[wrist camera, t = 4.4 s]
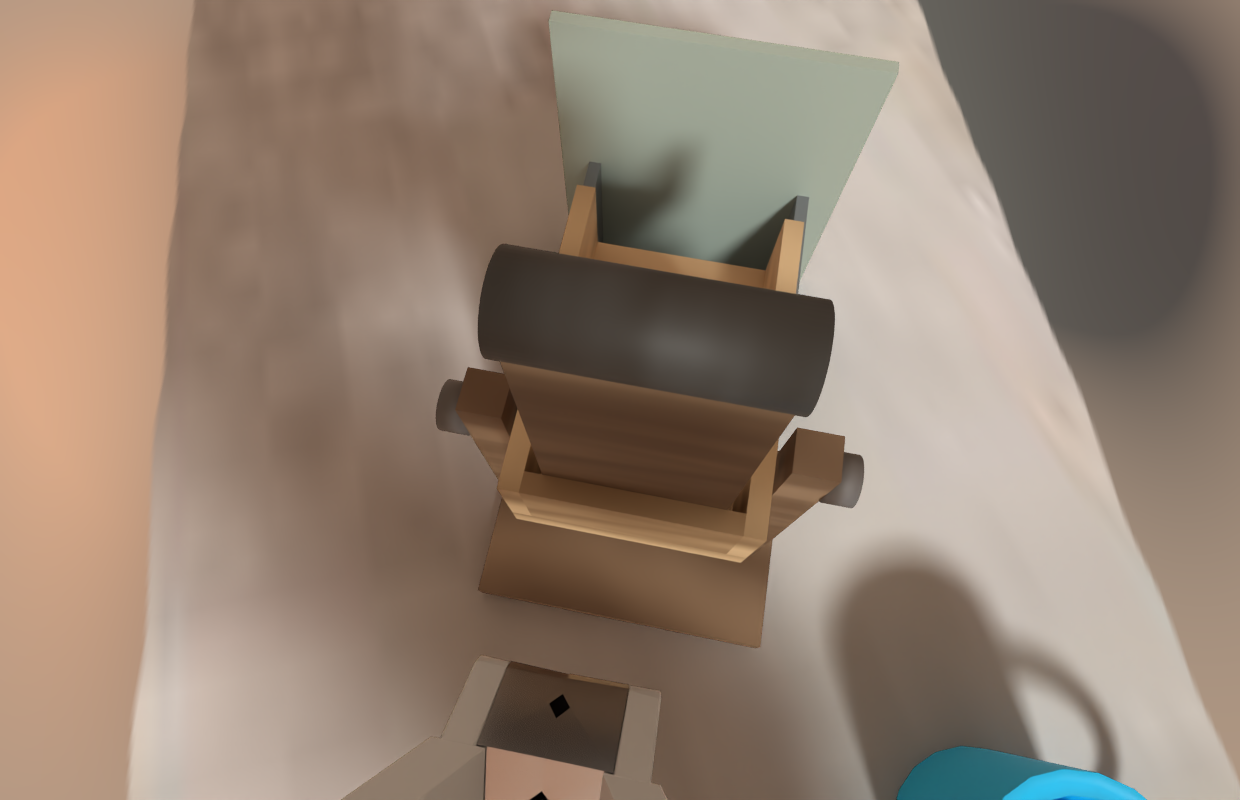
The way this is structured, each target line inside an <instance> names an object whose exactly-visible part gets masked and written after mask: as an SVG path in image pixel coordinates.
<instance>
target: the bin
mask: <svg viewBox="0 0 1240 800" xmlns="http://www.w3.org/2000/svg"><path fill="white" fill-rule="evenodd" d="M549 31H550V40H551V50H552V60H553V69H554V79H555V89H556V99H557V108H558V118H559V128H560V137H561V147H562V157H563V167H564V176H565V186H566V196H567V205H568V215H569V213H570V209H571V205H572V201H573V198H574V194H575V190H576V186H577V185H582V186H588V187H594V188H596V211H597V236H598V242H601V243H606V244H612V245H618V246H624V247H630V248H636V249H642V250H648V251H654V252H659V253H665V254H671V255H677V256H683V257H689V258H695V259H701V260H707V261H712V262H718V263H724V264H730V265H736V266H742V267H748V268H754V269H760V270H766V268H767V265H768V263H769V260H770V257H771V255H772V252H773V249H774V247H775V244H776V241H777V239H778V236H779V233H780V231H781V228H782V225H783V223H784V220H785V219H789V220H795V221H801V222H804V229H803V237H802V245H801V254H800V262H799V271H798V279H797V288H796V294H798V289H799V281H800V279H801V277H802V275H803V273H804V271H805V269H806V267H807V264H808V262H809V260H810V258H811V256H812V254H813V252H814V250H815V248H816V246H817V243H818V241H819V239H820V237H821V235H822V233H823V231H824V229H825V227H826V225H827V222H828V220H829V218H830V216H831V214H832V212H833V210H834V208H835V206H836V203H837V201H838V199H839V197H840V195H841V193H842V191H843V189H844V187H845V185H846V182H847V180H848V178H849V176H850V174H851V172H852V170H853V168H854V166H855V163H856V161H857V159H858V157H859V155H860V153H861V151H862V149H863V147H864V145H865V142H866V140H867V138H868V136H869V134H870V132H871V130H872V128H873V126H874V124H875V121H876V119H877V117H878V115H879V113H880V111H881V109H882V107H883V105H884V102H885V100H886V98H887V96H888V94H889V92H890V90H891V88H892V86H893V84H894V81H895V79H896V77H897V75H898V70H899V62H896V61H889V60H882V59H876V58H869V57H862V56H855V55H849V54H842V53H835V52H829V51H822V50H815V49H808V48H802V47H795V46H788V45H782V44H775V43H768V42H762V41H755V40H748V39H741V38H735V37H728V36H721V35H715V34H708V33H701V32H694V31H688V30H681V29H674V28H668V27H661V26H654V25H647V24H641V23H634V22H627V21H621V20H614V19H607V18H600V17H594V16H587V15H580V14H574V13H567V12H560V11H553V10H552V11H551V15H550V18H549Z"/></svg>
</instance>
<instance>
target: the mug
mask: <svg viewBox="0 0 1240 800" xmlns="http://www.w3.org/2000/svg"><path fill="white" fill-rule="evenodd" d="M897 800H1147V799H1145V798H1144V797H1143V796H1142V795H1141V794H1139V793H1138V792H1137V791H1136V790H1135V789H1133V788H1130V787H1128V786H1126V785H1124V784H1122V783H1120V782H1117V781H1115V780H1113V779H1111V778H1109V777H1106V776H1104V775H1102V774H1100V773H1096V772H1092V771H1087V770H1082V769H1078V768H1073V767H1068V766H1064V765H1059V764H1055V763H1050V762H1045V761H1041V760H1036V759H1031V758H1027V757H1022V756H1017V755H1013V754H1008V753H1004V752H999V751H994V750H990V749H982V748H974V747H966V746H959V747H955V748H950V749H946V750H942V751H938V752H935V753H934V754H932V755H931V756H929V757H928V758H927V759H925V760H924V761H922V762H921V763H919V764H918V765H917V766H915V767H914V768H913V770H912V771H911V773H910V774H909V776H908V777H907V779H906V780H905V782H904V783H903V785H902V786H901V788H900V789H899V792H898V796H897Z"/></svg>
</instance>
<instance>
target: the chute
mask: <svg viewBox="0 0 1240 800" xmlns="http://www.w3.org/2000/svg"><path fill="white" fill-rule="evenodd" d="M803 229H804V222H801V221H795V220H789V219H785V220H784V223H783V225H782V228H781V231H780V233H779V236H778V239H777V241H776V244H775V247H774V249H773V252H772V255H771V257H770V260H769V263H768V265H767V268H766V270H760V269H754V268H748V267H742V266H736V265H730V264H724V263H718V262H712V261H707V260H701V259H695V258H689V257H683V256H677V255H671V254H665V253H659V252H654V251H648V250H642V249H636V248H630V247H624V246H618V245H612V244H606V243H601V242H598V236H597V211H596V188H594V187H588V186H582V185H577V186H576V190H575V194H574V198H573V201H572V205H571V209H570V213H569V217H568V220H567V224H566V228H565V232H564V235H563V239H562V243H561V247H560V251H559V253H554V252H549V251H543V250H537V249H531V248H525V247H519V246H514V245H508V244H501V245H500V246H499V247H498V248H497V249H496V250H495V252H494V254H493V256H492V258H491V260H490V263H489V265H488V268H487V271H486V275H485V278H484V283H483V287H482V292H481V298H480V305H479V315H478V341H479V347H480V351H481V354H482V356H483V357H484V358H485V359H490V360H495V361H500V363H501V366H502V369H503V371H504V374H505V377H506V379H507V382H508V385H509V387H510V390H511V393H512V395H513V398H514V401H515V403H516V406H517V413H516V417H515V421H514V424H513V428H512V432H511V436H510V440H509V443H508V447H507V451H506V455H505V459H504V462H503V466H502V470H501V474H500V477H499V481H498V485H497V490H498V491H499V493H500V494H501V496H502V497H503V499H504V500H505V502H506V503H507V505H508V506H509V508H510V509H511V511H512V513H513V514H514V516H515V517H516V519H521V520H526V521H531V522H536V523H541V524H546V525H551V526H556V527H561V528H566V529H572V530H577V531H582V532H587V533H592V534H597V535H602V536H607V537H612V538H617V539H622V540H627V541H633V542H638V543H643V544H648V545H653V546H658V547H663V548H668V549H673V550H678V551H683V552H688V553H694V554H699V555H704V556H709V557H714V558H719V559H724V560H729V561H734V562H739V563H741V562H742V561H743V560H745V559H746V558H747V557H748V556H749V555H750V554H752V553H753V552H754V551H755V550H756V549H758V548H759V547H760V546H761V545H762V544H763V543H765V542H766V541H767V534H768V525H769V517H770V508H771V500H772V491H773V483H774V474H775V466H776V457H777V449H778V440H779V437H780V435H781V434H782V433H783V431H784V430H785V428H786V427H787V426H788V424H789V423H790V421H791V420H792V419H793V417H794V416H795V415H797V416H802V417H808V416H809V415H810V414H811V413H812V411H813V410H814V408H815V406H816V404H817V402H818V399H819V397H820V394H821V391H822V388H823V385H824V381H825V378H826V374H827V370H828V366H829V361H830V356H831V351H832V344H833V337H834V325H835V312H834V305H833V302H832V301H831V300H829V299H823V298H817V297H811V296H805V295H800V294H796V288H797V279H798V271H799V262H800V254H801V245H802V237H803Z"/></svg>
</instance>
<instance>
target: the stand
mask: <svg viewBox="0 0 1240 800" xmlns="http://www.w3.org/2000/svg"><path fill="white" fill-rule="evenodd" d="M516 413H517V406H516V403H515V401H514V398H513V395H512V393H511V390H510V387H509V385H508V382H507V379H506V377H505V374H502V373H497V372H491V371H486V370H480V369H475V368H469V367H468V368H467V372H466V375H465V378H464V382H462V381H457V380H451V379H449V380H447V381H446V382H445V384H444V385H443V387H442V390H441V392H440V395H439V399H438V403H437V409H436V424H437V428H438V429H439V430H442V431H447V432H453V433H458V434H463V435H471V436H472V438H473V440H474V441H475V443H476V445H477V446H478V448H479V449H480V451H481V453H482V454H483V456H484V457H485V459H486V461H487V462H488V464H489V466H490V467H491V469H492V470H493V472H494V474H495V475H496V477H497V479H498V480H499V477H500V474H501V470H502V466H503V462H504V459H505V455H506V451H507V447H508V443H509V440H510V436H511V432H512V428H513V424H514V421H515V417H516ZM844 444H845V436H840V435H834V434H829V433H824V432H818V431H813V430H807V429H802V428H797V429H796V430H795V431H794V433H793V434H792V435H791V437H790V438H789V439H788V441H787V442H786V443H785V445H784V446H783V447H782V449H781V450H780V451H777V457H776V466H775V474H774V483H773V491H772V500H771V508H770V517H769V525H768V534H767V541H766V542H765V543H763V544H762V545H761V546H760V547H759V548H758V549H756V550H755V551H754V552H753V553H752V554H750V555H749V556H748V557H747V558H746V559H745V560H743V561H742V562H741V563H739V562H734V561H729V560H724V559H719V558H714V557H709V556H704V555H699V554H694V553H688V552H683V551H678V550H673V549H668V548H663V547H658V546H653V545H648V544H643V543H638V542H633V541H627V540H622V539H617V538H612V537H607V536H602V535H597V534H592V533H587V532H582V531H577V530H572V529H566V528H561V527H556V526H551V525H546V524H541V523H536V522H531V521H526V520H521V519H516V517H515V516H514V514H513V513H512V511H511V509H510V508H509V506H508V505H507V503H506V502H505V500H504V499H503V497H502V500H501V504H500V507H499V511H498V515H497V519H496V523H495V527H494V530H493V534H492V538H491V542H490V546H489V550H488V553H487V557H486V561H485V565H484V569H483V573H482V577H481V580H480V584H479V588H478V590H479V591H481V592H483V593H488V594H493V595H498V596H503V597H508V598H513V599H518V600H523V601H527V602H532V603H537V604H542V605H547V606H552V607H557V608H562V609H567V610H571V611H576V612H581V613H586V614H591V615H596V616H601V617H606V618H611V619H616V620H620V621H625V622H630V623H635V624H640V625H645V626H650V627H655V628H660V629H665V630H669V631H674V632H679V633H684V634H689V635H694V636H699V637H704V638H709V639H713V640H718V641H723V642H728V643H733V644H738V645H743V646H748V647H753V648H759V647H760V643H761V634H762V626H763V617H764V608H765V600H766V591H767V582H768V573H769V565H770V556H771V547H772V539H773V538H775V537H776V536H777V535H778V534H779V533H781V532H782V531H783V530H784V529H785V528H787V527H788V526H789V525H790V524H791V523H793V522H794V521H795V520H796V519H798V518H799V517H800V516H801V515H802V514H804V513H805V512H806V511H807V510H808V509H810V508H811V507H812V506H813V505H815V504H816V503H817V502H818V501H820V502H821V503H826V504H832V505H837V506H842V507H848V508H853V507H854V506H855V505H856V503H857V501H858V499H859V496H860V493H861V489H862V485H863V478H864V462H863V458H862V456H861V455H857V454H851V453H846V452H844Z"/></svg>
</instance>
